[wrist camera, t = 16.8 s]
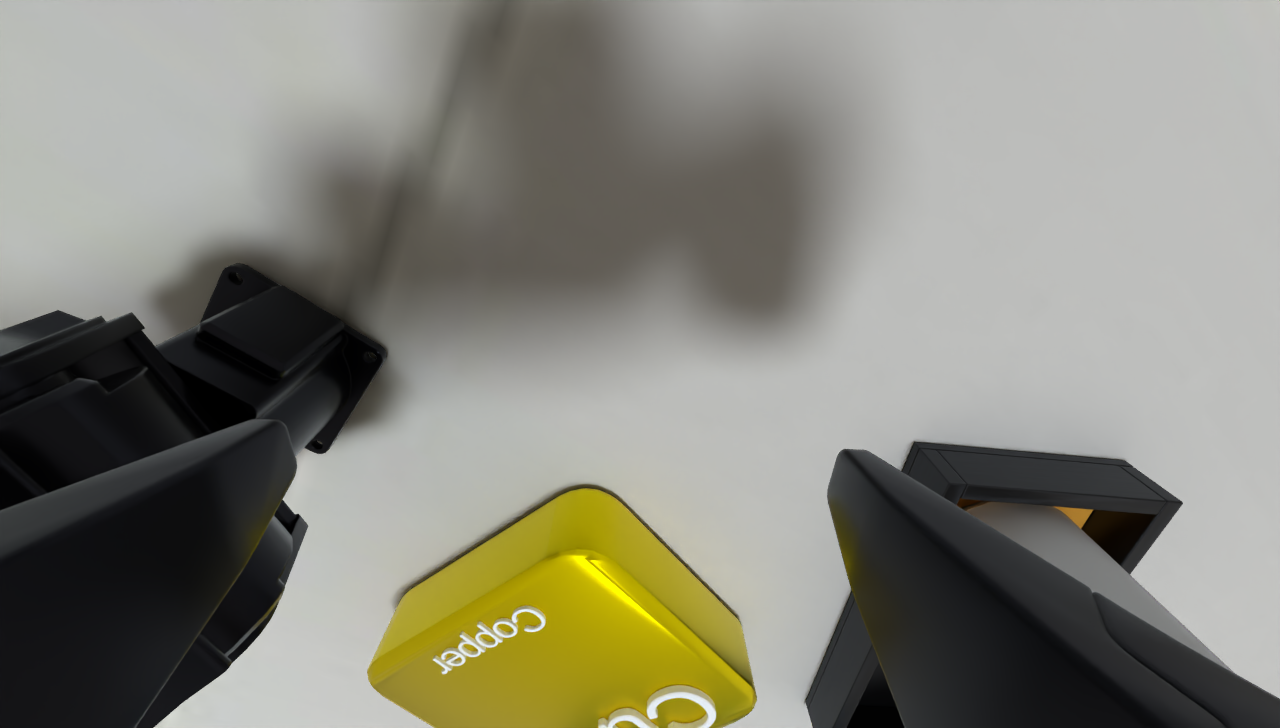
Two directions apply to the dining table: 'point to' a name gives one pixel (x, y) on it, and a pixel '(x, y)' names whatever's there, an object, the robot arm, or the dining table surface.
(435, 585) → the element tile
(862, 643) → the black divided tray
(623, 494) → the dining table surface
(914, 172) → the dining table surface
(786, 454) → the dining table surface
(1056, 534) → the can
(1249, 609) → the dining table surface
